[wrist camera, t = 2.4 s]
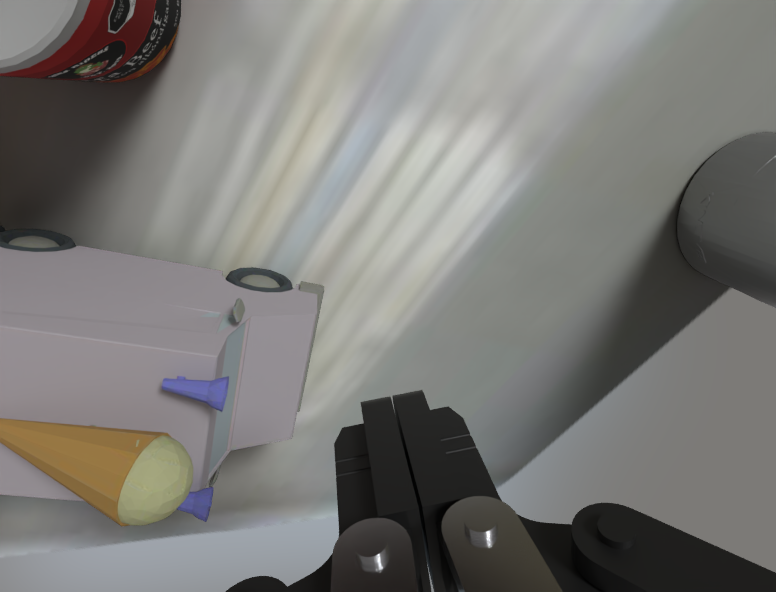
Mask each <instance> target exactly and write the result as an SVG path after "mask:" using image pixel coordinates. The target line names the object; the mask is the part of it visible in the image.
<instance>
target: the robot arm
mask: <svg viewBox="0 0 776 592" xmlns="http://www.w3.org/2000/svg"><path fill="white" fill-rule="evenodd" d="M677 236H678V241H679V245H680V248H681V251H682V253H683V255H684V256H685V258H686V260H687V262H688V263H689V264H690V265H691V266H692V267H693V268H694V269H695V270H697V271H699V272H700V273H702V274H704V275H706V276H708V277H710V278H712V279H714V280H716V281H719V282H721V283H723V284H725V285H727V286H730V287H732V288H734V289H736V290H739V291H741V292H743V293H745V294H747V295H749V296H751V297H753V298H755V299H757V300H759V301H761V302H764V303H766V304H768V305H770V306H773V307H775V308H776V133H773V132H763V133H756V134H750V135H748V136H745V137H742V138H740V139H737V140H735V141H733V142H731V143H730V144H728V145H726V146H725V147H723V148H721V149H720V150H719V151H718V152H716V153H715V154H714V155H713V156H712V157H711V158H710V159H708V160H707V161H706V162H705V164H704V165H703V166H702V167H701V168H700V170H699V171H698V172H697V173H696V174H695V176H694V178H693V179H692V181H691V183H690V184H689V186H688V188H687V190H686V192H685V194H684V197H683V200H682V202H681V205H680V209H679V215H678V220H677ZM393 404H394V409H393V405H392V401H391V397H385V398H379V399H374V400H369V401H364V402H361V407H362V414H363V420H364V424H359V425H354V426H349V427H344V428H342V430H341V432H340V434H339V436H338V437H337V439H336V441H335V443H334V447H335V462H336V477H337V478H336V482H337V500H338V517H339V538H338V540H337V542H336V544H335V546H334V549H333V553H332V555H331V556H330V558H329V559H328V560H327V561H326V562H325V563H324V564H323V565H322V566H321V567H320V568H319V569H317V570H316V571H315V572H313V573H312V574H310V575H308V576H306V577H305V578H303V579H301V580H299V581H297V582H296V583H293V584H292V585H290V586H288V587H287V586H286V585H285V584H284V583H283V582H282V581H280V580H278V579H276V578H273V577H269V576H257V577H252V578H249V579H246V580H243V581H241V582H239V583H237V584H236V585H234V586H232V587H231V588H229V589H228V590H227V591H226V592H431V586H430V580H429V573H428V567H429V572H430V576H431V580H432V584H433V589H434V592H776V573H775V572H772V571H770V570H768V569H766V568H764V567H761V566H759V565H757V564H755V563H752V562H750V561H748V560H746V559H744V558H741V557H739V556H737V555H735V554H732V553H730V552H728V551H726V550H723V549H721V548H719V547H717V546H714V545H712V544H710V543H708V542H705V541H703V540H701V539H699V538H696V537H694V536H692V535H690V534H687V533H685V532H683V531H681V530H679V529H676V528H674V527H672V526H670V525H667V524H665V523H663V522H661V521H658V520H656V519H654V518H652V517H650V516H647V515H645V514H643V513H641V512H638V511H636V510H634V509H631V508H629V507H626V506H623V505H619V504H613V503H597V504H593V505H589V506H587V507H585V508H583V509H582V510H580V511H579V512H578V513H577V514H576V515H575V518H574V519H573V522H572V525H570V524H555V523H542V522H536V521H532V520H529V519H526V518H523V517H521V516H519V515H517V514H516V513H515V511H514V510H513V509H512V508H511V507H510V506H509V505H507V504H506V503H504V502H502V500H501V499H500V497H499V495H498V493H497V491H496V488H495V486H494V484H493V482H492V480H491V478H490V476H489V473H488V471H487V469H486V467H485V465H484V463H483V460H482V458H481V456H480V454H479V452H478V450H477V449H476V445H475V443H474V441H473V439H472V437H471V436H470V432H469V430H468V428H467V426H466V424H465V422H464V419H463V418H462V417H461V416H460V415H459V414H457V413H456V412H455V411H453V410H452V409H451V408H449V407H443V408H438V409H433V410H430V409H429V406H428V404H427V401H426V398H425V396H424V393H423V391H422V390H420V391H414V392H409V393H404V394H399V395H394V396H393ZM394 410H395V413H394ZM395 416H396V417H395ZM427 564H428V566H427Z"/></svg>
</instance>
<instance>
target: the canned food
mask: <svg viewBox="0 0 776 592" xmlns="http://www.w3.org/2000/svg"><path fill="white" fill-rule="evenodd" d="M180 17H181V0H0V76H9V77H25V78H41V79H57V80H73V81H89V82H123V81H127V80H131V79H135V78H137V77H139V76H141V75H143V74H145V73H147V72H149V71H150V70H151V69H153V68H154V67H155V66H156V65H157V64H159V63H160V62H161V61H162V59H163V58H164V56H165V55H166V54H167V52H168V51H169V50H170V48H171V46H172V43H173V41H174V39H175V37H176V34H177V31H178V26H179V21H180Z"/></svg>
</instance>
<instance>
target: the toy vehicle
mask: <svg viewBox="0 0 776 592" xmlns="http://www.w3.org/2000/svg"><path fill="white" fill-rule="evenodd" d="M222 273H223V271H219V270H213V269H208V268H202V267H196V266H191V265H185V264H179V263H174V262H168V261H163V260H157V259H151V258H146V257H140V256H134V255H129V254H123V253H117V252H112V251H106V250H101V249H95V248H89V247H84V246H77V247H76V245H75V244H74V242H73V240H72V239H71V238H69V237H67V236H65V235H62V234H59V233H56V232H52V231H45V230H37V229H14V230H9V231H5V228H4V227H3V226H0V495H12V496H25V497H37V498H49V499H62V500H74V501H86V502H87V503H89V504H90V505H92V506H93V507H94V508H96V509H97V510H99V511H100V512H102V513H103V514H105V515H106V516H107V517H109V518H110V519H112V520H113V521H115V522H116V523H118V524H119V525H121V526H127V525H147V524H150V523H154V522H157V521H160V520H163V519H165V518H166V517H168V516H170V515H171V514H172V513H173V512H174V511H175V510H176V509H178V510H181V511H184V512H188V513H191V514H193V515H194V516H195V517H197V518H198V519H201V520H203V521H205V522H206V521H207V519H208V515H209V511H210V507H211V504H212V502H211V501H212V496H213V487H212V486H213V484H214V483H215V481H216V479H217V476H218V473H219V470H220V466H221V463H222V462H223V460H224V459H225V458H226V456H227V455H228V454H229V452H230V451H232V450H237V449H242V448H247V447H252V446H257V445H263V444H268V443H273V442H278V441H283V440H288V439H291V438H292V436H293V431H294V426H295V421H296V416H297V412H299V411H300V406H301V401H302V396H303V392H304V387H305V382H306V377H307V372H308V367H309V362H310V357H311V352H312V347H313V342H314V338H315V333H316V328H317V323H318V318H319V313H320V308H321V303H322V298H323V293H324V286H322V285H318V284H313V283H307V282H301V284H300V285H299V284H297V285H296V287H295V288H294V289H293V288H292V284H291V282H290V281H289V279H288V278H286V277H285V276H283V275H281V274H279V273H276V272H274V271H271V270H266V269H260V268H240V269H237V270H234V271H231V272H230V273H229V274H228V276H227V277H226V279H225V278H224V277H223V276H222ZM210 478H211V480H210V484H209V487H210V488H205V487H206V484H207V482H208V481H209V479H210Z"/></svg>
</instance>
